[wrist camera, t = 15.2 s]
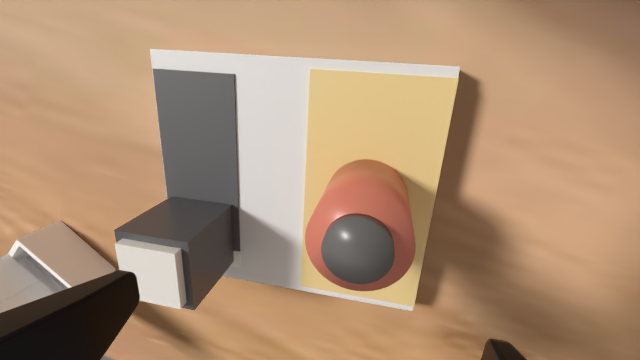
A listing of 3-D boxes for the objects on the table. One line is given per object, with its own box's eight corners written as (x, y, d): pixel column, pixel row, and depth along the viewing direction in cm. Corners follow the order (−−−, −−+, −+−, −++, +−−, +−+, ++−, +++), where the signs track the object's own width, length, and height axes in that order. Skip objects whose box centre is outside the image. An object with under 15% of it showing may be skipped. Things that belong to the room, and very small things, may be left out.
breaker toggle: (171, 196, 20) (106, 234, 15) (231, 204, 19) (181, 248, 15) (177, 251, 21) (119, 302, 17) (233, 261, 21) (188, 317, 16)
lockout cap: (329, 155, 17) (303, 192, 12) (414, 163, 16) (426, 208, 11) (324, 228, 18) (299, 290, 13) (401, 239, 18) (407, 310, 12)
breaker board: (167, 50, 19) (147, 48, 17) (453, 67, 16) (461, 66, 14) (187, 255, 23) (173, 268, 22) (410, 294, 21) (412, 313, 19)
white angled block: (113, 350, 25) (-59, 410, 17) (83, 242, 29) (-67, 254, 21) (134, 328, 23) (-42, 383, 16) (100, 218, 27) (-54, 222, 20)
